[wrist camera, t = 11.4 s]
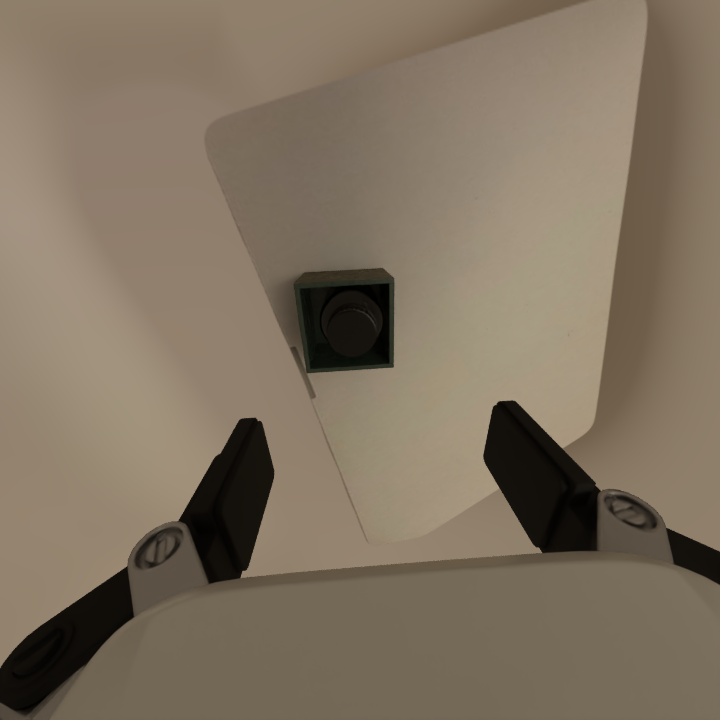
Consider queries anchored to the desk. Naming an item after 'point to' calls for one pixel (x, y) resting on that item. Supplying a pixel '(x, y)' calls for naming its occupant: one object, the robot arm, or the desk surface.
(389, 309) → the open box
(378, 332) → the supplement bottle
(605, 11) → the desk surface
